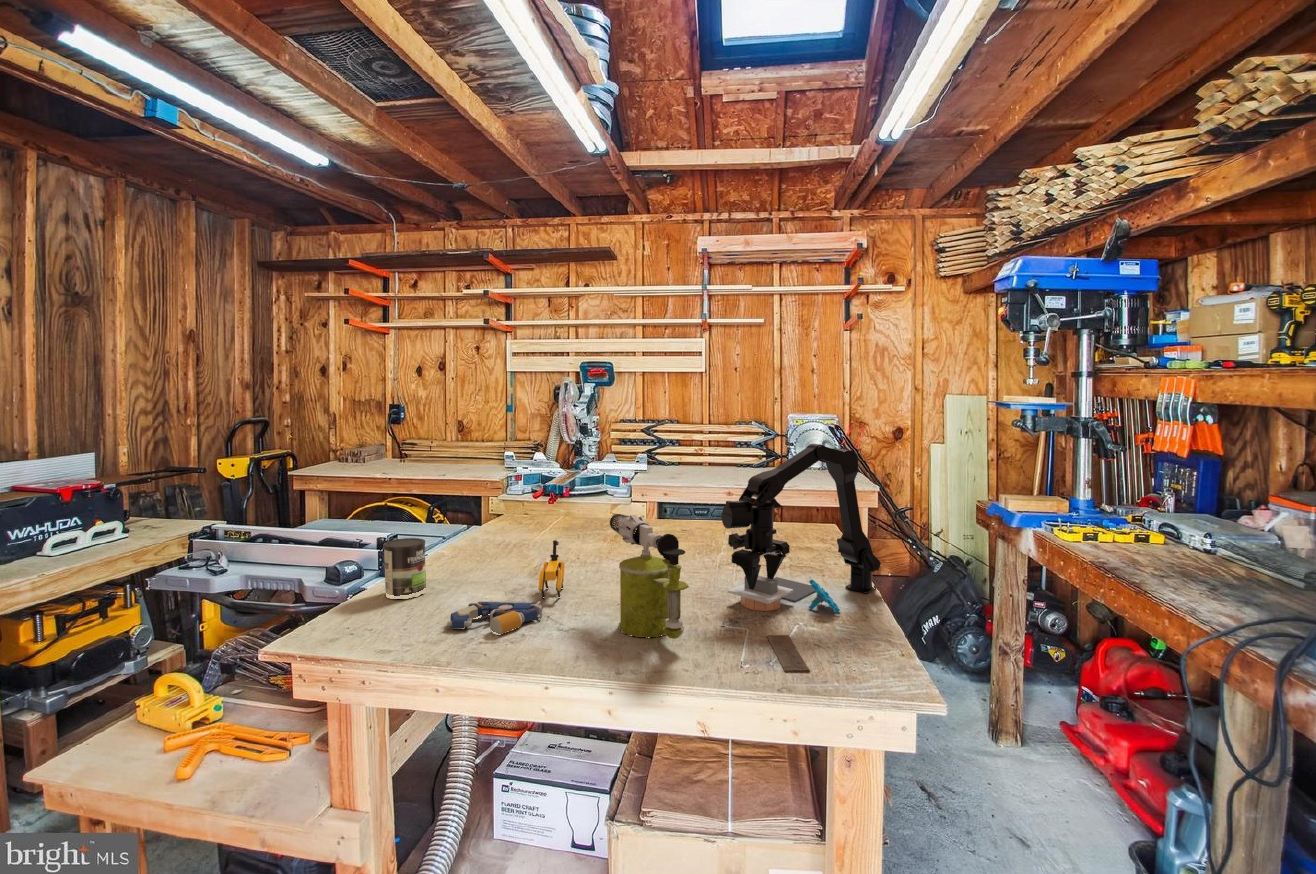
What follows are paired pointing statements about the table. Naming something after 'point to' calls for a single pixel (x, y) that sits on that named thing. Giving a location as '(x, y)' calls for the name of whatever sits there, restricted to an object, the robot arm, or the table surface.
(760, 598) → the lid
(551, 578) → the robot dog
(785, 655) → the wooden plank
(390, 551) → the coffee can
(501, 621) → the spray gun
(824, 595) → the gear
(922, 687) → the table surface
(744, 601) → the dish
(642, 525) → the blowtorch
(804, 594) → the mat
